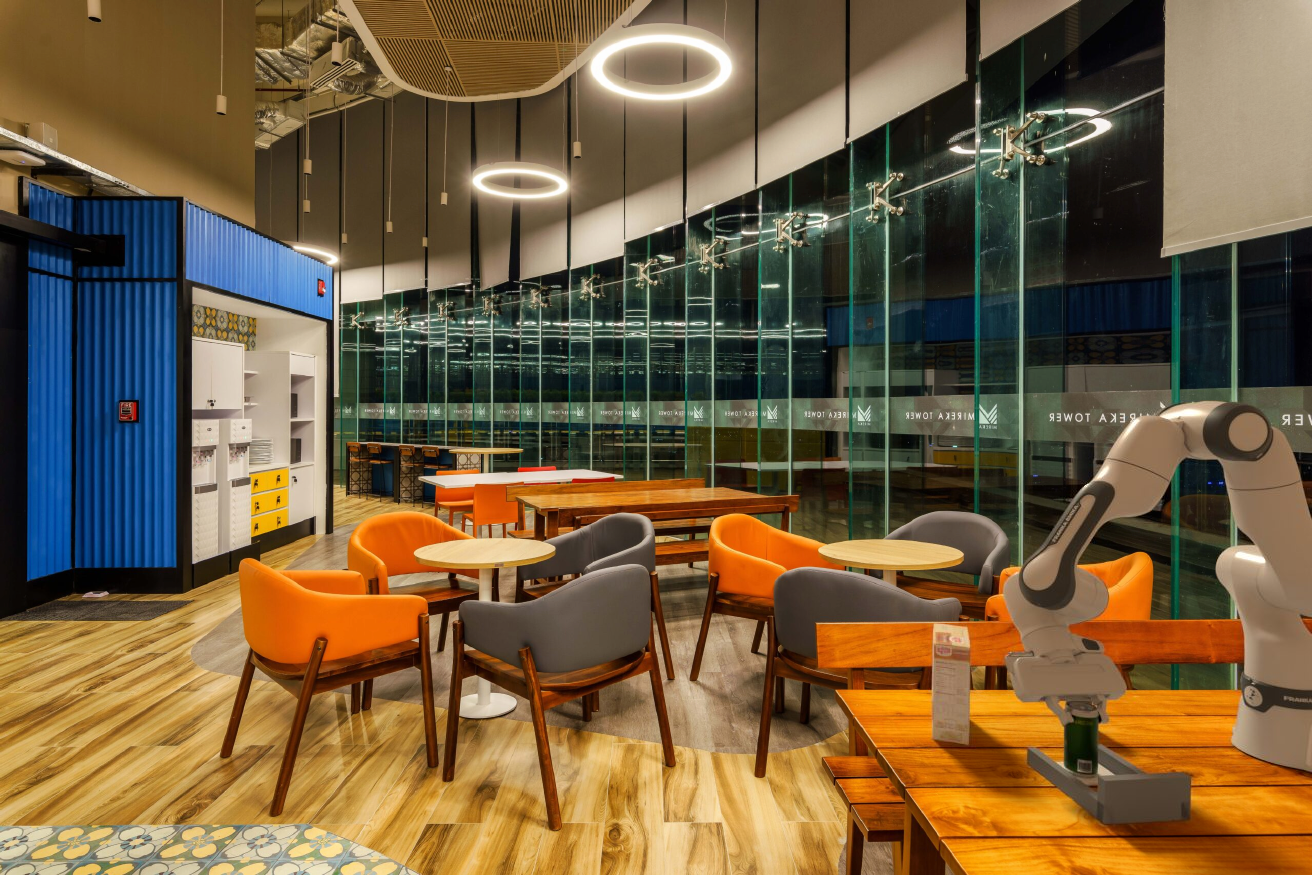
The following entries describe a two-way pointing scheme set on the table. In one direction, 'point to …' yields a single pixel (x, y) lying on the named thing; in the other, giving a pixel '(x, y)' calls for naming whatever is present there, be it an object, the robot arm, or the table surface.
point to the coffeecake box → (951, 684)
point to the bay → (1120, 789)
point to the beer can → (1081, 740)
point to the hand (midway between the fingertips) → (1086, 723)
